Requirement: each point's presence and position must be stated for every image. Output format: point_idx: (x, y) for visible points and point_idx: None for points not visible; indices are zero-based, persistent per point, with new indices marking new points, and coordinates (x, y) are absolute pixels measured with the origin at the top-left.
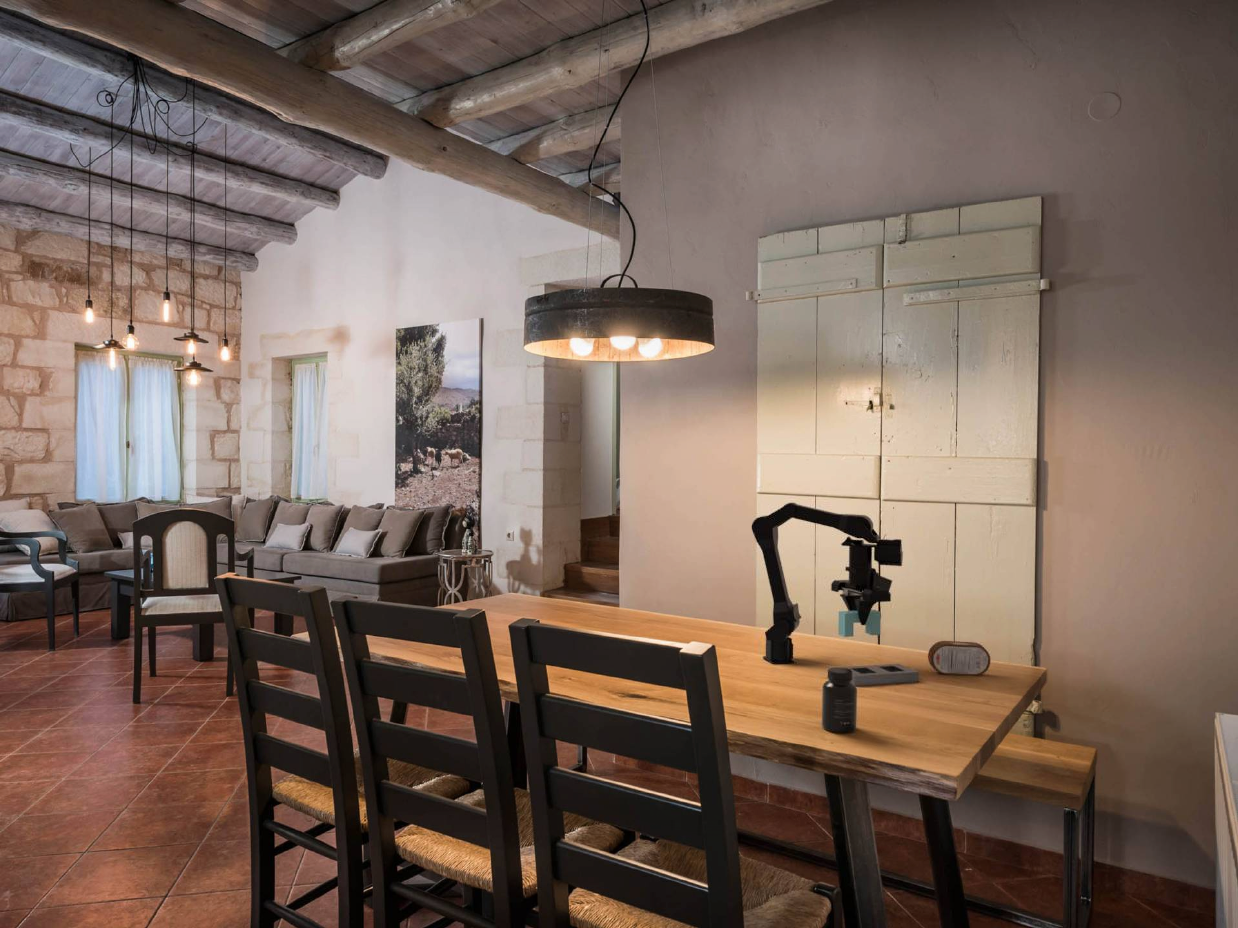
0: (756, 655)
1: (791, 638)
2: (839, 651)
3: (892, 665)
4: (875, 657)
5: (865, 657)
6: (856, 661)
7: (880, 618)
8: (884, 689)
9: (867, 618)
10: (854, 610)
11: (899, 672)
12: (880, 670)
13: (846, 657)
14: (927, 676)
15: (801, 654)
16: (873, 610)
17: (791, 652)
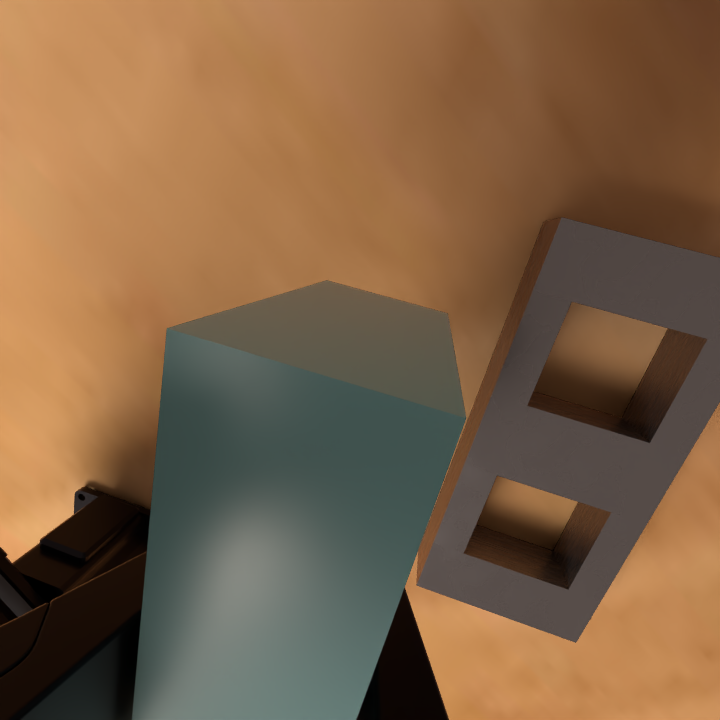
0: (36, 542)
1: (56, 586)
2: (46, 153)
3: (560, 300)
4: (212, 43)
5: (192, 111)
6: (242, 239)
7: (456, 364)
8: (683, 539)
9: (426, 654)
10: (124, 699)
11: (699, 404)
12: (590, 460)
13: (160, 222)
14: (708, 98)
15: (58, 382)
16: (249, 425)
17: (121, 538)
